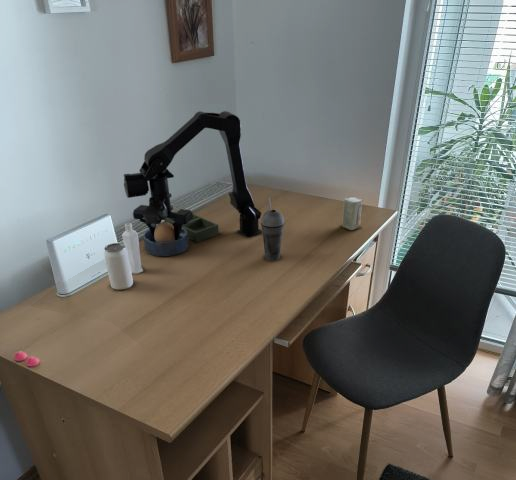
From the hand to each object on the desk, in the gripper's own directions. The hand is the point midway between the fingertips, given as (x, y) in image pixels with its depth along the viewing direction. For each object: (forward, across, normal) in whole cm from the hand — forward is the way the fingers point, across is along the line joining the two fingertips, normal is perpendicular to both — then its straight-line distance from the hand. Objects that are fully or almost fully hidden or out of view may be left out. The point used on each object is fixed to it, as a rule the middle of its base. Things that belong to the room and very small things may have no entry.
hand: (166, 239), depth 164 cm
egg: (+3, 0, 0) cm, 3 cm away
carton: (+3, +2, +16) cm, 16 cm away
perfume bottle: (+3, -2, -17) cm, 18 cm away
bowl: (+3, 0, 0) cm, 3 cm away
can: (+3, -2, -27) cm, 27 cm away
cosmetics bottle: (+3, +56, +33) cm, 65 cm away
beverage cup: (+3, +36, +2) cm, 36 cm away
